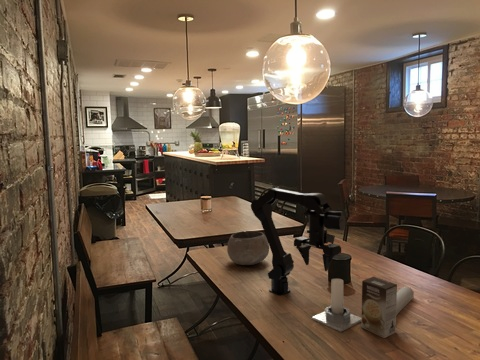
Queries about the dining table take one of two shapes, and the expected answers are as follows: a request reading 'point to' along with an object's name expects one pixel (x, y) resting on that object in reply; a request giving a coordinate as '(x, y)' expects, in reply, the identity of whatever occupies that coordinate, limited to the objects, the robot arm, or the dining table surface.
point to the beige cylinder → (337, 296)
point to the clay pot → (248, 247)
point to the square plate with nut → (337, 319)
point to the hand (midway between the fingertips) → (316, 267)
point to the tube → (403, 298)
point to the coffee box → (379, 306)
